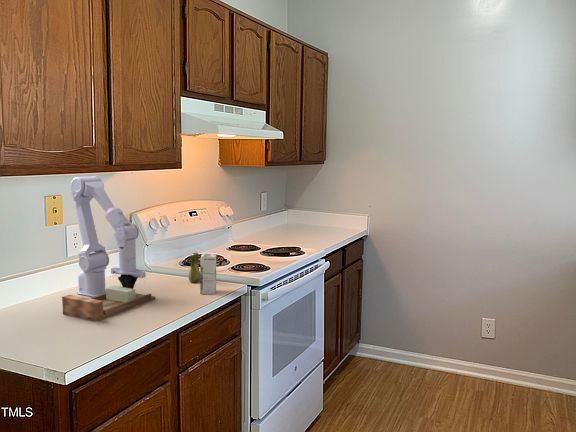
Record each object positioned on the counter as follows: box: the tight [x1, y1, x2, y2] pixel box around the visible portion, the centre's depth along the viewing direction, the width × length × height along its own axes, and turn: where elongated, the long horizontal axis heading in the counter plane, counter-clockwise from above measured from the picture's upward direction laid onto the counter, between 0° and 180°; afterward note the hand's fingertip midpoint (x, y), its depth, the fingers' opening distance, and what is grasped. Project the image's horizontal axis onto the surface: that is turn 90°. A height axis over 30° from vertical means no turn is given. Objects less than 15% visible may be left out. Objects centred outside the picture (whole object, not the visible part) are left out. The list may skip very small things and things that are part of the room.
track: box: [61, 292, 156, 322], centre depth 186 cm, size 15×28×6 cm, turn 153°
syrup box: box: [199, 253, 217, 295], centre depth 205 cm, size 6×6×14 cm
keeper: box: [105, 285, 137, 302], centre depth 190 cm, size 10×4×4 cm, turn 63°
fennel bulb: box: [188, 252, 200, 283], centre depth 220 cm, size 6×5×12 cm
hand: (128, 295), depth 194 cm, fingers closed, pressing on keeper
